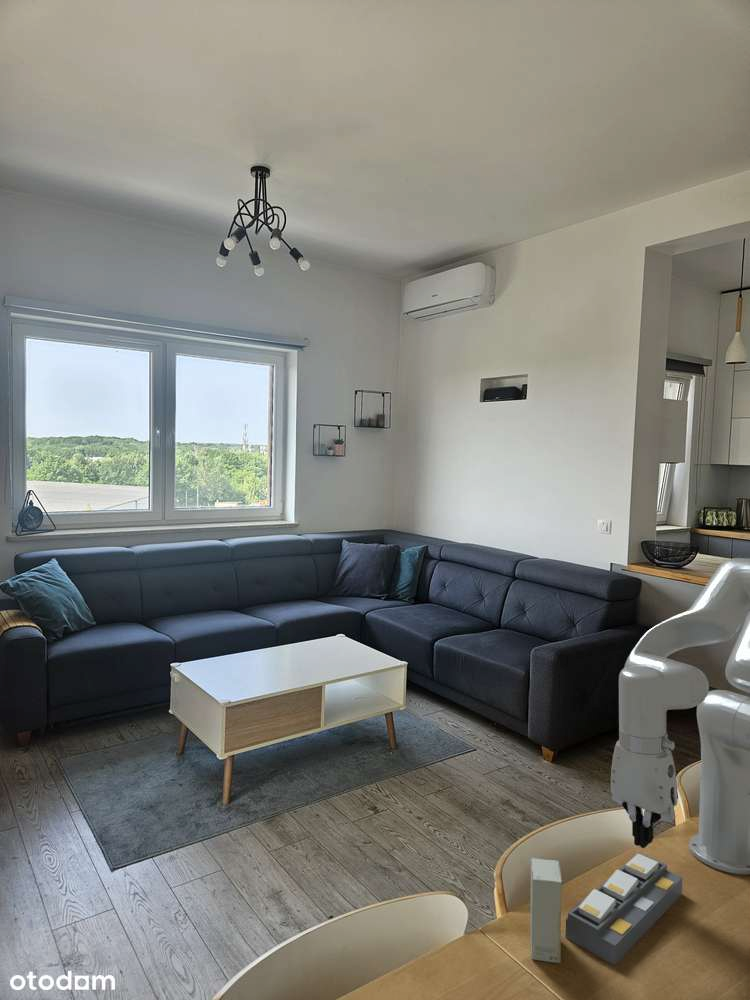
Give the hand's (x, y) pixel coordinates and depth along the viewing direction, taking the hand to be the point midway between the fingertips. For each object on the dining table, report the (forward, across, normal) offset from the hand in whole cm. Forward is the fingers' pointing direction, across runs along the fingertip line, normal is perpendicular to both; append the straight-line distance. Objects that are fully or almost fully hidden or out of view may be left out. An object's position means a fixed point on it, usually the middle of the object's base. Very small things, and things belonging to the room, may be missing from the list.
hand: (642, 843), depth 113 cm
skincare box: (+8, +4, +25) cm, 26 cm away
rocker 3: (+4, 0, 0) cm, 4 cm away
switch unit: (+8, -1, +8) cm, 11 cm away
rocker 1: (+4, 0, +16) cm, 16 cm away
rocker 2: (+4, 0, +8) cm, 9 cm away
